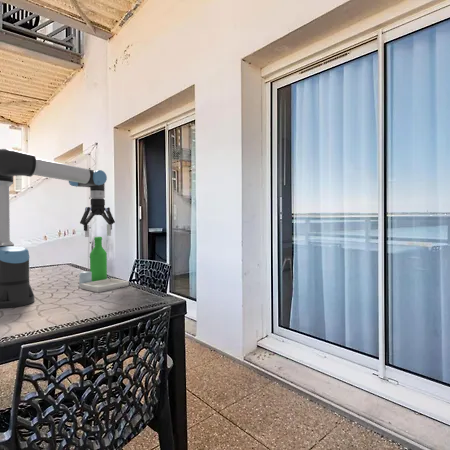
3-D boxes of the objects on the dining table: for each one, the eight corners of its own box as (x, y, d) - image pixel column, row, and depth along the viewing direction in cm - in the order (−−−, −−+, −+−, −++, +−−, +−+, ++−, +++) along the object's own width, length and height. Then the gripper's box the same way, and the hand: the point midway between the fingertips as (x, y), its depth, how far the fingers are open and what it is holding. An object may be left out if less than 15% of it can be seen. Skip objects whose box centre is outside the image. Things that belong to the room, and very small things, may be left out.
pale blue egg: (83, 287, 167) (83, 273, 166) (77, 285, 170) (76, 272, 170) (94, 285, 171) (93, 272, 171) (87, 284, 175) (87, 271, 175)
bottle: (103, 282, 179) (102, 237, 178) (87, 282, 179) (87, 237, 179) (109, 279, 188) (108, 236, 187) (94, 279, 188) (93, 236, 188)
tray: (97, 292, 155) (97, 287, 155) (80, 288, 164) (80, 283, 164) (128, 285, 169) (128, 281, 169) (111, 282, 178) (111, 278, 178)
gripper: (80, 197, 170) (81, 237, 171) (120, 199, 190) (121, 235, 191) (72, 197, 175) (73, 237, 175) (112, 199, 195) (113, 234, 195)
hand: (98, 236), depth 183 cm, fingers open, 13 cm apart
